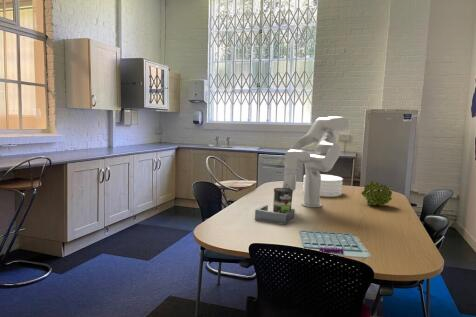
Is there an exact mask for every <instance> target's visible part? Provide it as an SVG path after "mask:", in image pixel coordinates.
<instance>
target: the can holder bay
mask: <svg viewBox="0 0 476 317" xmlns="http://www.w3.org/2000/svg"><path fill="white" fill-rule="evenodd" d="M295 210H296V208H291V210H289V211H288V212H286V213H285V214H283V213H277V212H273V211H270V210H269V205H268V204H264V205H262V206H259V207H258V208H256V209H255V210H254V220H258V221H263V222H270V223H276V224H280V225H281V224H282V225H288V224H289V223H290V222H291V221H292V220H294V219H295V214H296V213H295V212H296V211H295Z"/></svg>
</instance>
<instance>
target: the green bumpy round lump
mask: <svg viewBox="0 0 476 317" xmlns="http://www.w3.org/2000/svg"><path fill="white" fill-rule="evenodd" d="M360 193H361V195H362V196H363V197H364V199H366V203H367V205H370V206H372V205H373V206H376V205H377V206H379V207H383V206H384V205H385V204H389V203H390V201H392V200H393V197H392V196H393V191H392V190H391V187H388V186H387V185H386V184H383V183H381V184H379V182H376V183H375V182H374V181H372V180H370V182H369V184H367V185H364V188H363V191H361V192H360Z"/></svg>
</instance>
